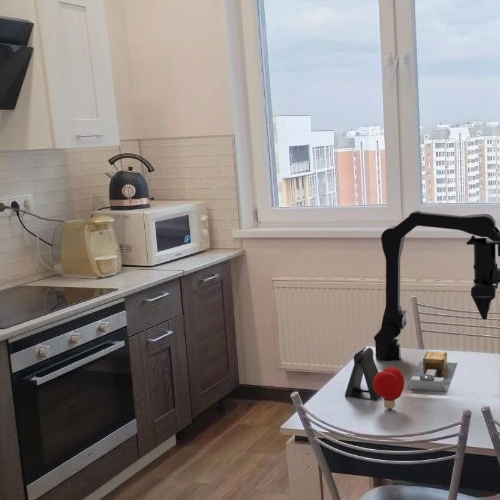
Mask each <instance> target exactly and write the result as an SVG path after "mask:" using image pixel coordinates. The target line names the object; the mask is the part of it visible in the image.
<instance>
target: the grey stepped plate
mask: <svg viewBox="0 0 500 500" xmlns="http://www.w3.org/2000/svg"><path fill="white" fill-rule="evenodd" d="M457 365H458V362H448V361H447V368H446V371H445V373H444V374H442V367H431V366H429V367H428V369H427V371H426V373H423V360H420V361H419V362H418V365H417V367H416V369H415V370H414V373H413V374H412V376H411V378H410V381H409V383H408V384H407V387H406V388H405V391H417V392H418V391H419V392H429V393H430V392H433V393H434V394H433V393H432V395H436V393H448V391H449V388H450V385H451V383H452V380H453V376H454V374H455V371H456V369H457ZM417 394H419V395H420V393H417Z"/></svg>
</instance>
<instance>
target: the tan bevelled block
mask: <svg viewBox="0 0 500 500" xmlns="http://www.w3.org/2000/svg"><path fill="white" fill-rule="evenodd" d="M422 361H423V373H426V371H427V369H428V367H429V366H431V367H442V374H444V373H445V371H446V368H447V362H448V352H447V351H442V352H441V351H426V352H425V354H424V356H423V358H422Z"/></svg>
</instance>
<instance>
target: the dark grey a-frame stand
mask: <svg viewBox="0 0 500 500" xmlns="http://www.w3.org/2000/svg"><path fill="white" fill-rule="evenodd" d="M377 373H379V371H378V367H377V365H376V362H375V360H374V351H373V349H372V348H371V347H368V348H367V347H366V346H365V347H364V348H362V349H361V350H359V351H358V352H357V353H355V354H354V356H353V367H352V371H351V373H350V377H349V380H348V384H347V387H346V390H345V393H344V397H345V398H352V399H358V400H360V399H361V400H366V401H375V402H377V401H379V400H380V399H381V398H382V397H381V396H379V395H377V394H376V392H375V391H374V388H373V380H374V377H375V376H376V374H377ZM363 376H364V380H365V383H366V386H367V390H366V389H365V390H364V389H360V388H361V385H362V381H363Z"/></svg>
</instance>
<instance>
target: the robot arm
mask: <svg viewBox="0 0 500 500" xmlns="http://www.w3.org/2000/svg"><path fill="white" fill-rule="evenodd" d="M496 223H497V222H496V219H495V218H494V217H493V216H492V215H491V214H489V213H479V214H478V213H477V214H469V215H468V214H467V215H458V214H456V215H455V214H448V213H446V214H443V213H435V212H426V211H425V212H424V211H420V210H414V211H412V212H411V213H410V214H409V215H408V216H407V217H406V218H405V219H404V220H402V221H401V222H400V223H398V224H397V225H391V226H390V227H388V228H386V229H385V230H384V231H383V232H382V233H381V235H380V240H381V247H382V251H383V254H384V258H385V307H384V308H385V309H384V312H383V315H382V316H383V317H382V320H381V326H380V329H379V330H378V331H377V333H376V334H375V335H374V336H373V340H374V344H375V360H378V361H382V362H392V361H400V360H401V358H402V357H401V355H402V354H401V344H399V339H398V338H397V337H399V336H400V334H401V333H402V331H403V330H404V328H405V327H406V325H407V324H408V323H407V310H403V309H402V306H401V256H402V252H403V249H404V243H405V239H406V235H407V234H409V233H410V232H411V231H413V229H415V228H416V227H418V226H419V227H425V228H426V227H428V228H437V229H445V230H456V231H461V232H465V233H467V234H468V235H469V234H470V235H471V237H470V239H468V240H467V241H466V243H465V244H466V245H468V246H472V245H473V274H474V276H473V277H474V279H473V285H472V286H471V289H470V296H471V298H472V300H473V302H474V303H475V305H476V308H477V311H478V312H479V314H480V317H481V319H482V320H487V319H488V314H489V312H490V307H491V302H492V301H493V300H494V299H495V298H496V294H497V292H496V291H497V289H498V287H499V284H500V268H499V267H498V263H497V257H500V229H499V228H498V227H497V226H496V225H497V224H496ZM496 246H497V252H496ZM496 253H497V257H496Z"/></svg>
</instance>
